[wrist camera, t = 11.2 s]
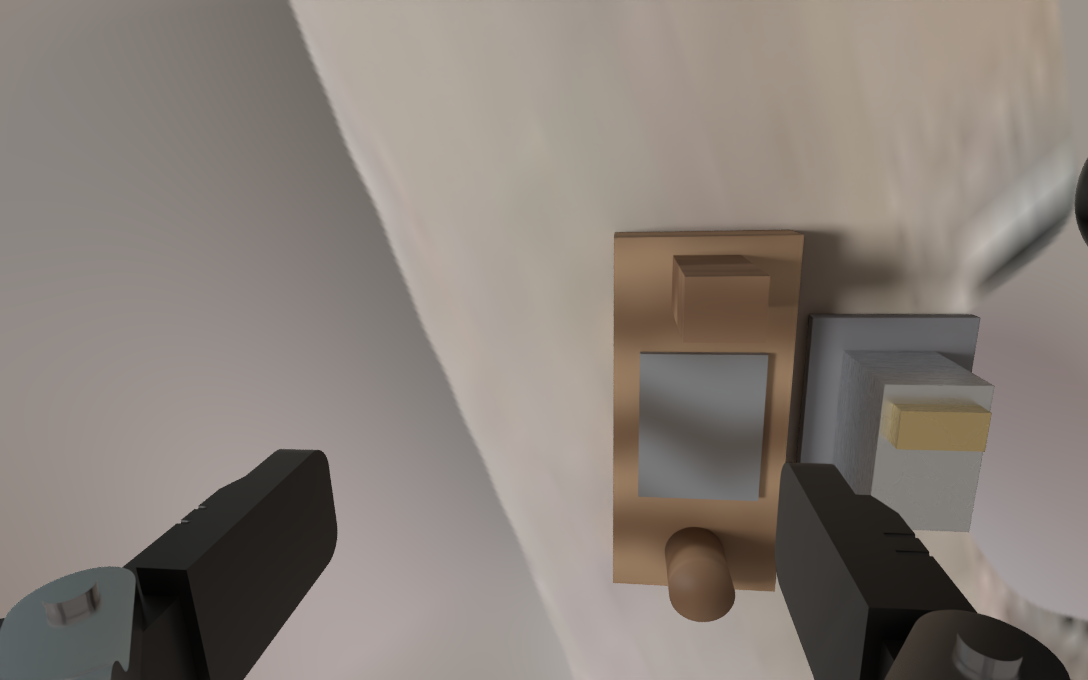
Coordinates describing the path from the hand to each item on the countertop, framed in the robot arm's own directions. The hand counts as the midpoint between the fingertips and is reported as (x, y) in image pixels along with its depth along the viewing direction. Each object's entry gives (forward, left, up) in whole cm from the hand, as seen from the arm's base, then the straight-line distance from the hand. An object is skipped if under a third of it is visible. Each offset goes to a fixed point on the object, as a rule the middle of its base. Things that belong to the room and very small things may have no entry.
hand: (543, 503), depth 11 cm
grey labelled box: (+9, +17, -27) cm, 33 cm away
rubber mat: (+9, +17, -28) cm, 34 cm away
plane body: (+9, +6, -28) cm, 30 cm away
